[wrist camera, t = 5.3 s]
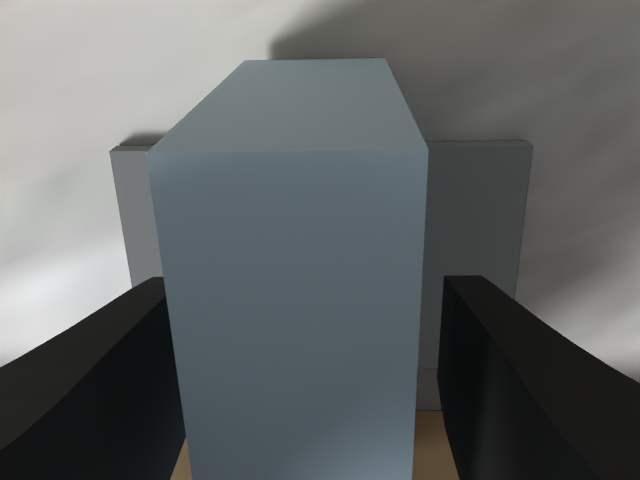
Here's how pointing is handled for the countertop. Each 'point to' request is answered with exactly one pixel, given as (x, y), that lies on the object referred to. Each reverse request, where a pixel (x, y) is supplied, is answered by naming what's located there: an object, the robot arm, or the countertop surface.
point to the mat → (440, 220)
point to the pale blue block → (295, 271)
